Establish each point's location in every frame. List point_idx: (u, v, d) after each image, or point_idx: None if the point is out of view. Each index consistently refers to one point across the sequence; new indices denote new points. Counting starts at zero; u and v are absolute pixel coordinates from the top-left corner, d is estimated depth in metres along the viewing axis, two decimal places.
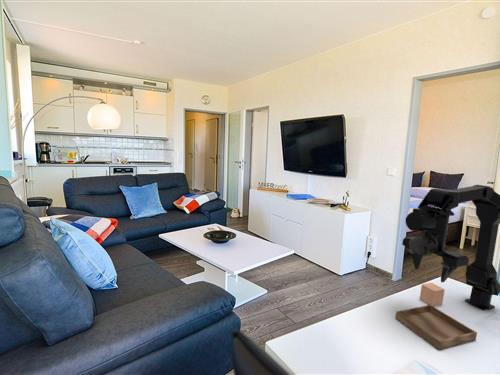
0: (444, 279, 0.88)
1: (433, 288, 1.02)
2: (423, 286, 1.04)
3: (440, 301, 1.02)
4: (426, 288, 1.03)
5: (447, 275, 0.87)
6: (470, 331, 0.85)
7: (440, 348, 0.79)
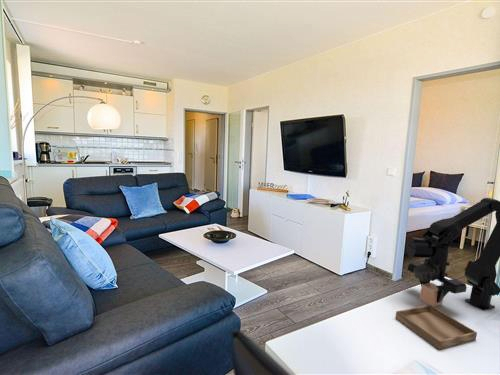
0: (439, 300, 1.01)
1: (433, 288, 1.02)
2: (423, 286, 1.04)
3: (440, 301, 1.02)
4: (426, 288, 1.03)
5: (442, 296, 1.01)
6: (470, 331, 0.85)
7: (440, 348, 0.79)
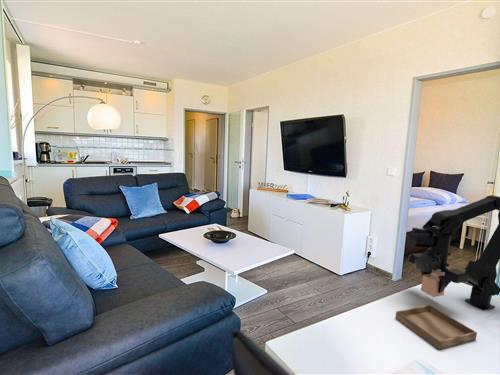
0: (441, 290, 1.01)
1: (434, 278, 1.02)
2: (424, 277, 1.04)
3: None
4: (427, 278, 1.03)
5: (443, 287, 1.00)
6: (470, 331, 0.85)
7: (440, 348, 0.79)
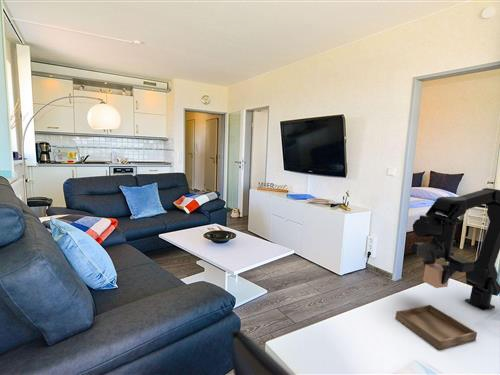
0: (444, 281, 0.94)
1: (438, 268, 0.95)
2: (427, 266, 0.97)
3: None
4: (430, 268, 0.96)
5: (447, 277, 0.93)
6: (470, 331, 0.85)
7: (440, 348, 0.79)
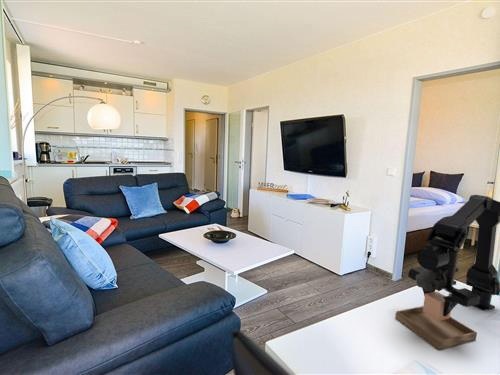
0: (447, 313, 0.85)
1: (439, 299, 0.86)
2: (427, 296, 0.88)
3: None
4: (430, 298, 0.87)
5: (450, 309, 0.84)
6: (470, 331, 0.85)
7: (440, 348, 0.79)
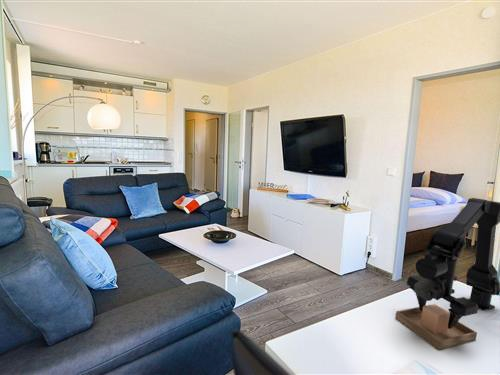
0: (451, 326, 0.83)
1: (437, 312, 0.86)
2: (425, 309, 0.89)
3: (445, 327, 0.86)
4: (428, 311, 0.87)
5: (455, 322, 0.83)
6: (470, 331, 0.85)
7: (440, 348, 0.79)
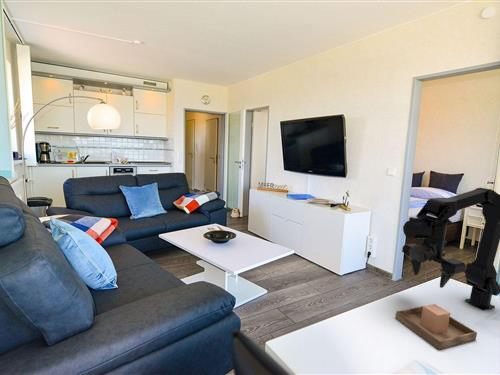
0: (443, 285, 0.93)
1: (437, 312, 0.86)
2: (425, 309, 0.89)
3: (445, 327, 0.86)
4: (428, 311, 0.87)
5: (446, 281, 0.92)
6: (470, 331, 0.85)
7: (440, 348, 0.79)
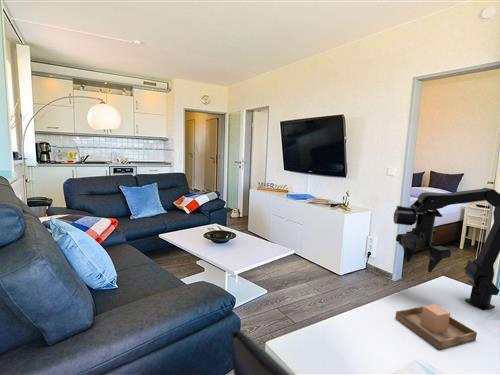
0: (431, 269, 1.03)
1: (437, 312, 0.86)
2: (425, 309, 0.89)
3: (445, 327, 0.86)
4: (428, 311, 0.87)
5: (433, 266, 1.03)
6: (470, 331, 0.85)
7: (440, 348, 0.79)
